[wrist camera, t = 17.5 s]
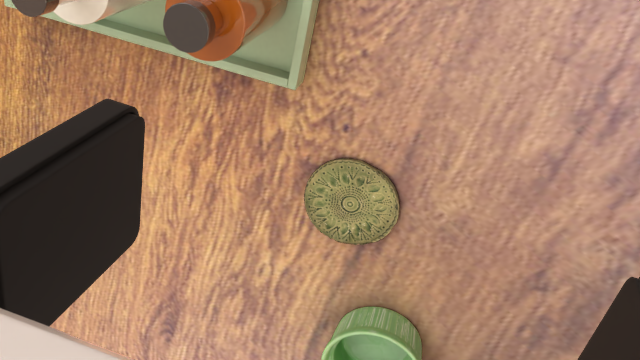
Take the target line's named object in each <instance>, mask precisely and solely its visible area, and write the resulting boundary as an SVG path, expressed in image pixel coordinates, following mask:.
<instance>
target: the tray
mask: <svg viewBox="0 0 640 360" xmlns="http://www.w3.org/2000/svg"><path fill="white" fill-rule="evenodd" d="M4 2H5V6H8V7H12V8H15V9H17V8H16V7H15V6H14V4H13V3H12V1H11V0H4ZM318 4H319V0H288V4H287V8H286V11H285V13H284V15H283V17H282V18H281V20H280V21H279V22H278V23H277V24H276V25H274V26H273V27H272V28H270V29H269V30H267V31H266V32H264V33H263V34H261V35H260V36H258V37H257V38H256V39H254V40H253V41H251V42H250V43H248V44H247V45H245V46H244V47H242V48H241V49H240V50H238V51H237V52H235V53H234V54H232V55H231V56H229V57H227V58H226V59H223V60H220V61H203V60H200V59H197V58H194V57H193V56H191V55H189V54H188V53H186V52H182V51H180V50H178V49H176V48H175V47H174V46H173V45H172V44H171V43H170V42H169V41H168V39H167V37H166V35H165V32H164V29H163V19H164V15H165V6H166V0H153V1H150V2H148V3H145V4H142V5H140V6H137V7H134V8H131V9H129V10H126V11H123V12H121V13H118V14H115V15H112V16H110V17H107V18H104V19H102V20H99V21H96V22H93V23H91V24H87V25H78V24H73V23H70V22H68V21H66V20H64V19H62V18H61V17H59V16H58V15H57V14H55V13H54V12H50V13H47V14H44V15H41V16H43V17H46V18H49V19H53V20H56V21H60V22H63V23H66V24H70V25H73V26H77V27H80V28H84V29H87V30H90V31H94V32H97V33H101V34H104V35H107V36H111V37H114V38H118V39H121V40H125V41H128V42H131V43H135V44H138V45H142V46H145V47H148V48H152V49H155V50H159V51H162V52H166V53H169V54H172V55H176V56H179V57H183V58H186V59H189V60H193V61H196V62H200V63H203V64H207V65H210V66H213V67H217V68H220V69H224V70H227V71H231V72H234V73H237V74H241V75H244V76H248V77H251V78H254V79H258V80H261V81H265V82H268V83H272V84H275V85H278V86H282V87H285V88H289V89H292V90H296V89H297V88H298V87H299V86H300V85H301V84H302V83H303V80H304V75H305V70H306V65H307V60H308V55H309V50H310V45H311V40H312V35H313V30H314V25H315V20H316V14H317V9H318Z"/></svg>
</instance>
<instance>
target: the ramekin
mask: <svg viewBox="0 0 640 360" xmlns="http://www.w3.org/2000/svg"><path fill="white" fill-rule="evenodd" d="M321 360H422V343H421V339H420V336H419V333H418V331H417V330H416V328H415V327H414V326H413V324H412V323H411V322H410V321H409V320H408V319H406V318H405V317H403V316H402V315H400V314H399V313H397V312H395V311H392V310H389V309H386V308H382V307H362V308H358V309H355V310H353V311H351V312H349V313H348V314H346V315H345V316H344V317H343V318H342V319H341V321H340V322H339V324H338V326H337V328H336V330H335V332H334V334H333V336H332V339H331V340H330V342H329V343H328V344H327V346H326V347H325V349H324V351H323V354H322V358H321Z"/></svg>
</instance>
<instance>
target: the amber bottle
mask: <svg viewBox="0 0 640 360" xmlns="http://www.w3.org/2000/svg"><path fill="white" fill-rule="evenodd" d="M287 4H288V0H166V6H165V15H164V19H163V29H164V32H165V35H166V37H167V39H168V41H169V42H170V43H171V44H172V45H173V46H174V47H175V48H176V49H178V50H180V51H182V52H186V53H188V54H189V55H191V56H193V57H194V58H197V59H200V60H203V61H220V60H223V59H226V58H227V57H229V56H231V55H232V54H234V53H235V52H237V51H238V50H240V49H241V48H242V47H244V46H245V45H247V44H248V43H250V42H251V41H253V40H254V39H256V38H257V37H258V36H260V35H261V34H263V33H264V32H266V31H267V30H269V29H270V28H272V27H273V26H274V25H276V24H277V23H278V22H279V21H280V20H281V18H282V17H283V15H284V13H285V11H286V8H287Z"/></svg>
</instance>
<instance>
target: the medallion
mask: <svg viewBox="0 0 640 360" xmlns="http://www.w3.org/2000/svg"><path fill="white" fill-rule="evenodd" d="M304 201H305V207H306V211H307V214H308V216H309V218H310V220H311V222H312V223H313V224H314V225H315V226H316V228H317V229H319V230H320V232H321V233H324V234H325V235H326V236H328V237H329V238H331V239H334V240H335V241H338V242H341V243H346V244H354V245H357V244H360V245H362V244H363V245H364V244H367V243H373V242H376V241H379V239H382V238H384V237H386V236H387V234H389V233H390V231H391V229H392V228H393V227H394V225H395V224H396V222H397V221H398V217H399V209H400V205H399V198H398V194H397V191H396V189H395V187H394V185H393V183H392V182H391V181H390V179H389V178H388V177H387V176H386V175H385V174H384V173H382V171H381V170H379V169H375V168H374V167H372V166H371V165H369V164H367V163H365V162H364V161H360V160H355V159H352V158H349V159H348V158H341V159H336V160H331V161H329V162H326V163H325V164H324V165H322V166H320V167H319V168H318V169H316V170H315V172H314V173H313V174H312V176H311V177H310V179H309V180H308V183H307V186H306V189H305V194H304Z"/></svg>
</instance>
